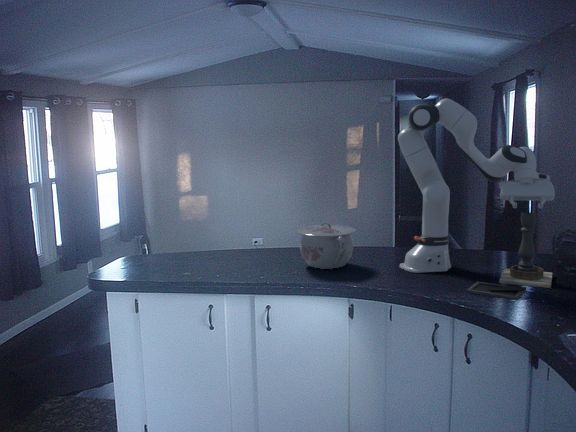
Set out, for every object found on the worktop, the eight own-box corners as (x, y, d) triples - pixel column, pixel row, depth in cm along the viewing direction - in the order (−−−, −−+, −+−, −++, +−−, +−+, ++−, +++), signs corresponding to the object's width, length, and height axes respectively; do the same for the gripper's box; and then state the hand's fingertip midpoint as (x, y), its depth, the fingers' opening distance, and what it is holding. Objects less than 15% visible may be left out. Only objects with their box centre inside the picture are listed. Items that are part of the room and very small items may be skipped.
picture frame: (526, 292, 199) (477, 285, 209) (526, 287, 198) (477, 280, 209) (517, 301, 188) (466, 294, 199) (517, 296, 188) (466, 288, 198)
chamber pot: (307, 257, 261) (306, 216, 258) (362, 260, 252) (362, 217, 249) (288, 272, 235) (287, 225, 232) (349, 275, 226) (348, 227, 223)
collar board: (550, 288, 201) (551, 276, 200) (499, 283, 209) (499, 271, 209) (552, 276, 217) (552, 265, 216) (504, 272, 225) (505, 261, 224)
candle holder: (536, 277, 209) (539, 214, 206) (519, 277, 211) (522, 214, 207) (532, 273, 215) (534, 212, 212) (515, 273, 217) (518, 212, 213)
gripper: (499, 175, 221) (500, 202, 213) (553, 175, 215) (557, 203, 207) (498, 185, 226) (499, 211, 218) (551, 185, 219) (554, 212, 212)
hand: (527, 207), depth 212 cm, fingers open, 8 cm apart
